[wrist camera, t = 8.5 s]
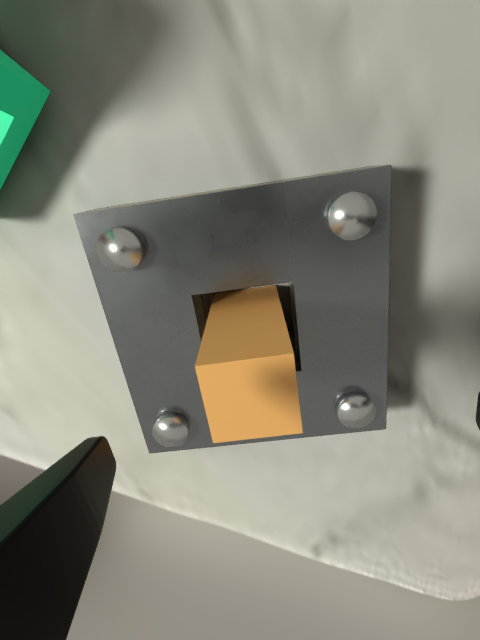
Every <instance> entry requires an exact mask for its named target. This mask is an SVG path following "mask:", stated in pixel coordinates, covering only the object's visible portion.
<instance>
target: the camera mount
mask: <svg viewBox="0 0 480 640" xmlns="http://www.w3.org/2000/svg"><path fill="white" fill-rule="evenodd" d="M50 92H51V91H50V90H49V89H47V88H46V87H45V86H44V85H43V84H41V83H40V82H39V81H38V80H37V79H35V78H34V77H33V76H32V75H30V74H29V73H28V72H27V71H26V70H24V69H23V68H22V67H21V66H20V65H18V64H17V63H16V62H15V61H14V60H12V59H11V58H10V57H9V56H8V55H6V54H5V53H4V52H3V51H2V50H0V189H1V187H2V185H3V184H4V182H5V180H6V178H7V176H8V174H9V172H10V170H11V168H12V166H13V164H14V162H15V160H16V158H17V156H18V154H19V152H20V150H21V149H22V147H23V145H24V143H25V141H26V139H27V137H28V135H29V133H30V131H31V129H32V127H33V125H34V123H35V121H36V119H37V117H38V115H39V114H40V112H41V110H42V108H43V106H44V104H45V102H46V100H47V98H48V96H49V94H50Z"/></svg>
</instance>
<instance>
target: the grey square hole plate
mask: <svg viewBox="0 0 480 640" xmlns="http://www.w3.org/2000/svg"><path fill="white" fill-rule="evenodd" d="M390 212H391V165H383V166H369V167H363V168H356V169H350V170H343V171H337V172H331V173H324V174H318V175H311V176H305V177H299V178H292V179H286V180H279V181H273V182H266V183H260V184H254V185H247V186H241V187H234V188H228V189H222V190H215V191H209V192H202V193H196V194H189V195H183V196H177V197H170V198H164V199H157V200H151V201H145V202H138V203H132V204H125V205H119V206H112V207H106V208H100V209H94V210H90V211H86V212H81V213H77V214H73V215H74V218H75V221H76V224H77V227H78V231H79V234H80V237H81V240H82V243H83V246H84V249H85V253H86V256H87V259H88V262H89V265H90V268H91V271H92V275H93V278H94V281H95V284H96V287H97V290H98V293H99V297H100V300H101V303H102V306H103V309H104V312H105V315H106V319H107V322H108V325H109V328H110V331H111V334H112V337H113V341H114V344H115V347H116V350H117V353H118V356H119V359H120V363H121V366H122V369H123V372H124V375H125V378H126V381H127V385H128V388H129V391H130V394H131V397H132V400H133V403H134V407H135V410H136V413H137V416H138V419H139V422H140V425H141V429H142V432H143V435H144V438H145V441H146V444H147V447H148V451H149V453H158V452H168V451H177V450H187V449H197V448H207V447H216V446H226V445H236V444H246V443H255V442H265V441H275V440H285V439H294V438H304V437H314V436H323V435H333V434H343V433H353V432H362V431H372V430H382V429H386V414H387V363H388V313H389V262H390ZM287 282H289V286H290V297H291V307H292V318H293V328H294V339H295V349H293V352H294V360H295V369H296V378H297V387H298V396H299V405H300V413H301V422H302V431H303V433H299V434H290V435H281V436H273V437H264V438H255V439H246V440H237V441H229V442H220V443H213V440H212V436H211V432H210V428H209V424H208V420H207V415H206V411H205V407H204V403H203V399H202V395H201V390H200V386H199V382H198V378H197V374H196V370H195V363H196V360H197V356H198V352H199V348H200V345H201V341H202V337H203V333H204V330H205V326H206V319H205V314H204V309H203V304H202V299H201V294H205V293H213V292H220V291H228V290H235V289H242V288H250V287H257V286H265V285H272V284H280V283H287Z"/></svg>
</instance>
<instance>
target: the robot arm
mask: <svg viewBox="0 0 480 640" xmlns="http://www.w3.org/2000/svg"><path fill="white" fill-rule="evenodd" d="M476 422H477V426H478V428H479V430H480V392H479V395H478V402H477V411H476ZM115 472H116V461H115V458H114V455H113V453H112V450H111V448H110V445H109V443H108V441H107V439H106V438H105V437H103V436H98V437H91V438H87V439H86V440H84V441H83V442H82V443H81V444H79V445H78V446H77V447H75V448H74V449H73V450H71V451H70V452H69V453H68V454H66V455H65V456H64V457H62V458H61V459H60V460H58V461H57V462H56V463H54V464H53V465H52V466H51V467H49V468H48V469H47V470H45V471H44V472H43V473H42V474H40V475H39V476H38V477H36V478H35V479H34V480H32V481H31V482H30V483H28V484H27V485H26V486H25V487H23V488H22V489H21V490H20V491H18V492H17V493H15V494H14V495H13V496H12V497H10V498H9V499H8V500H6V501H5V502H4V503H2V504H1V505H0V640H66V638H67V635H68V632H69V629H70V626H71V623H72V620H73V617H74V614H75V611H76V608H77V605H78V602H79V599H80V596H81V593H82V590H83V587H84V584H85V581H86V578H87V575H88V572H89V569H90V566H91V563H92V560H93V557H94V554H95V551H96V548H97V545H98V542H99V539H100V535H101V532H102V528H103V524H104V520H105V516H106V511H107V507H108V503H109V498H110V494H111V490H112V485H113V481H114V476H115Z"/></svg>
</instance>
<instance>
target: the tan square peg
mask: <svg viewBox="0 0 480 640" xmlns="http://www.w3.org/2000/svg"><path fill="white" fill-rule="evenodd" d="M195 370H196V374H197V378H198V382H199V386H200V390H201V395H202V399H203V403H204V407H205V411H206V415H207V420H208V424H209V428H210V432H211V436H212V440H213V443H220V442H229V441H237V440H246V439H255V438H264V437H273V436H281V435H290V434H299V433H303V431H302V422H301V413H300V405H299V396H298V387H297V378H296V369H295V360H294V352H293V349H292V345H291V341H290V337H289V333H288V330H287V326H286V322H285V318H284V314H283V311H282V307H281V303H280V299H279V295H278V292H277V288H276V285H272V286H265V287H258V288H251V289H244V290H238V291H231V292H224V293H217V294H214V296H213V300H212V303H211V307H210V311H209V315H208V318H207V322H206V326H205V330H204V333H203V337H202V341H201V345H200V348H199V352H198V356H197V360H196V363H195Z"/></svg>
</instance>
